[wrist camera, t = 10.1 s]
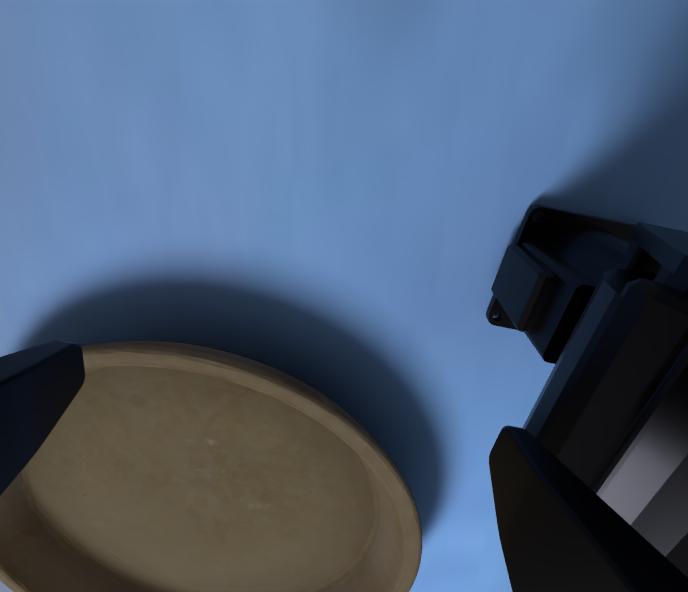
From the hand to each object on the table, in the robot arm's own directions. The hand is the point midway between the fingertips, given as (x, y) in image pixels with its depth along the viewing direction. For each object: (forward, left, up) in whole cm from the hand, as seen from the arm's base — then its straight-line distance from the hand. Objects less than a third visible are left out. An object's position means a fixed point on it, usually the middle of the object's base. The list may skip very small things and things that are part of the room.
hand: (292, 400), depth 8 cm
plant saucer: (+6, +22, -14) cm, 26 cm away
